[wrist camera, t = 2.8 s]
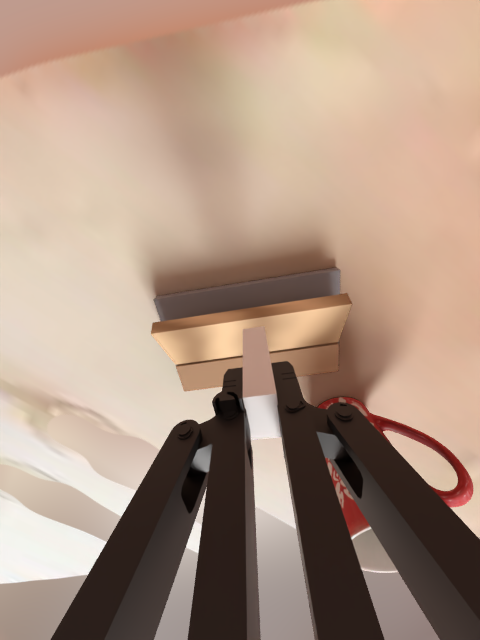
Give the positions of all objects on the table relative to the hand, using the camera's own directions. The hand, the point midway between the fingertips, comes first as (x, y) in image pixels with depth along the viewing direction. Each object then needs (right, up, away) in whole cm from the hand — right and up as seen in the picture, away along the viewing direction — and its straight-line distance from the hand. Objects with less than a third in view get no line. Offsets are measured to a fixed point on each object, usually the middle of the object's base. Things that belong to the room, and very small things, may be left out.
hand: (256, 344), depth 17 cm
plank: (0, +1, +6) cm, 6 cm away
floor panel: (0, +1, +9) cm, 9 cm away
